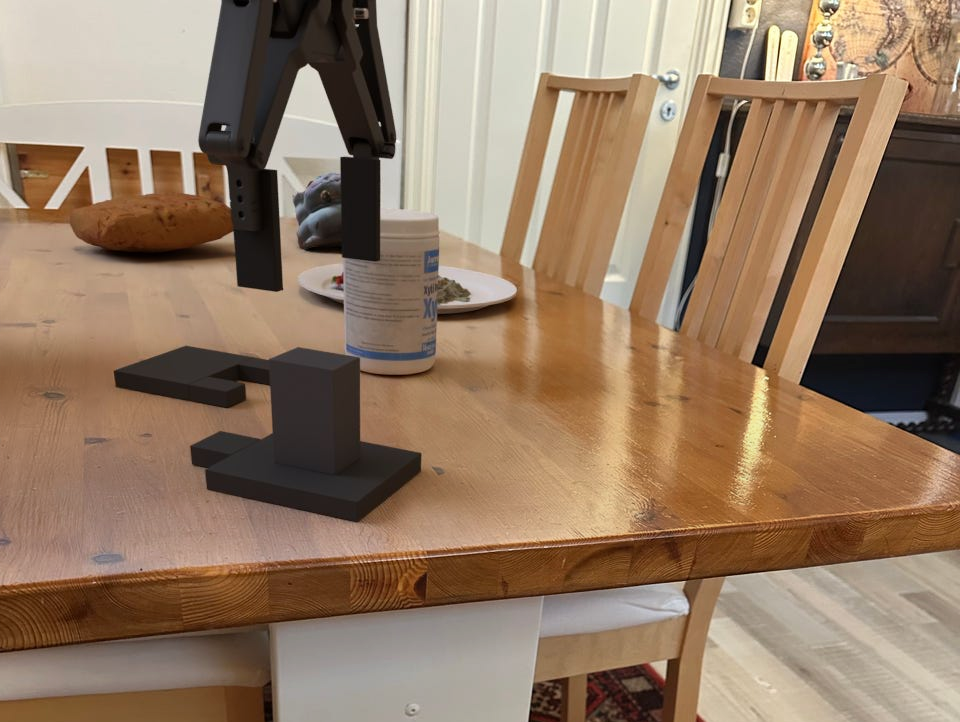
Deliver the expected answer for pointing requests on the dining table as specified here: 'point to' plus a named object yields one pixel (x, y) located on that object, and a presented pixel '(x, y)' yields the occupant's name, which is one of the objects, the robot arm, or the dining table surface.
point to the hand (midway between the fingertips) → (315, 273)
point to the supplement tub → (395, 297)
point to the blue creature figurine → (319, 212)
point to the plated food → (454, 287)
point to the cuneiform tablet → (152, 222)
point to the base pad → (195, 375)
